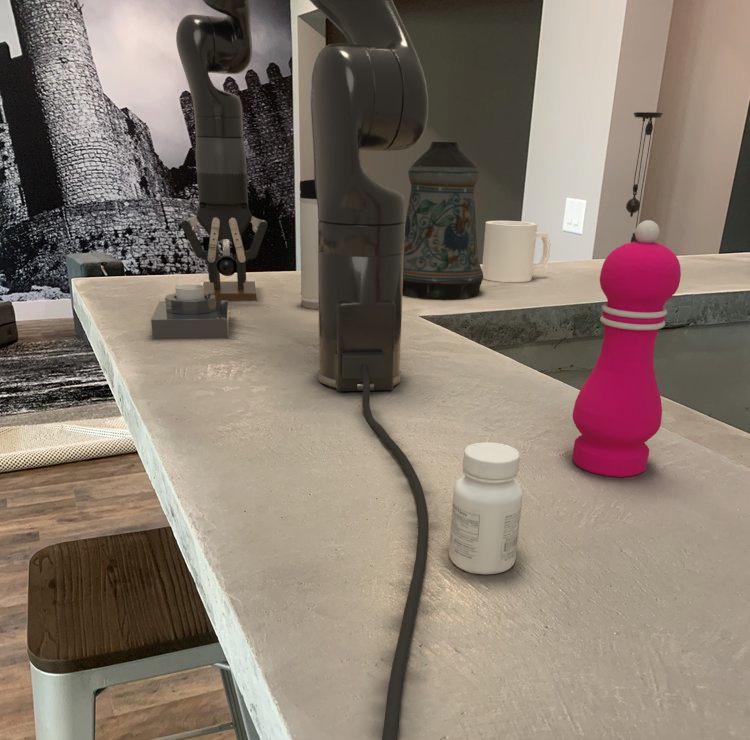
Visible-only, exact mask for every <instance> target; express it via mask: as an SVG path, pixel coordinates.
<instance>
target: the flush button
mask: <svg viewBox="0 0 750 740" xmlns="http://www.w3.org/2000/svg"><path fill="white" fill-rule="evenodd" d="M174 289H175V293H176V299H182V300H196V299H203V298H205V287H204V286H203V284H194V283H193V284H191V283H190V284H189V283H188V284H180V285H176V286H175V287H174Z"/></svg>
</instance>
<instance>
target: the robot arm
mask: <svg viewBox="0 0 750 740" xmlns="http://www.w3.org/2000/svg"><path fill="white" fill-rule="evenodd" d="M309 1H310V2H311V4H313V6H314V7H315V8H316V9H317V10H318V11H320V13H321V14H322V15H324V16H325V18H327V19H328V20H329V21H330V22H331V24H333V26H335V28H337V29H338V30H339V32H341V33H342V35H344V37H345V38H346V40H347V41H348V42H349V43H330V44H327V45H325V46H324V47H323V48H322V49H320V50H319V52H318V54H317V56H316V57H315V61H314V64H313V67H312V73H311V80H310V97H309V98H310V118H311V119H310V120H311V134H312V147H313V148H312V150H313V174H314V176H313V177H314V178H313V180H315V190H316V197H317V204H318V285H319V309H318V372H317V374H318V377H317V378H318V381H319V382H320V383H321V384H323V385H324V386H327V387H330V388H334V389H335V390H336V391H337V392H362V400H361V401H362V411H363V416H364V418H365V420H366V422H367V423H368V426H370V427H371V428H372V429H373V430H374V431H375V432H376V433H377V434H378V436H379V437H380V439H381V440H382V441H383V442H384V444H385V445H386V446H387V448H388V449H389V450H390V451H391V452H392V453H393V454H394V456H395V457H396V458H397V460H398V462H399V463H400V464H401V466H402V468H403V469H404V472H405V473H406V475H407V477H408V479H409V482H410V484H411V486H412V490H413V494H414V498H415V504H416V509H417V520H418V527H417V539H416V540H417V541H416V542H417V543H416V544H417V545H416V550H415V551H416V553H415V559H414V566H413V571H412V576H411V580H410V585H409V588H408V593H407V597H406V601H405V605H404V610H403V614H402V619H401V625H400V630H399V634H398V638H397V642H396V647H395V650H394V651H395V652H394V655H393V656H394V657H393V660H392V666H391V670H390V675H389V682H388V687H387V696H386V701H385V702H386V703H385V713H384V720H383V726H382V727H383V728H382V734H381V735H382V736H381V740H398V737H399V729H400V727H399V726H400V718H401V708H402V707H401V706H402V696H403V695H402V694H403V685H404V679H405V673H406V667H407V662H408V657H409V651H410V647H411V643H412V636H413V631H414V627H415V626H414V625H415V620H416V614H417V610H418V609H417V608H418V604H419V599H420V594H421V590H422V586H423V581H424V577H425V576H424V575H425V572H426V571H425V570H426V565H427V556H428V544H429V543H428V541H429V513H428V506H427V501H426V497H425V493H424V489H423V487H422V484H421V480H420V479H419V477H418V475H417V473H416V470H415V469H414V467H413V465H412V463H411V462H410V460H409V458H408V457H407V455H406V454H405V452H403V451H404V450H402V449H401V448H400V447H399V445H398V444H397V443H396V442H395V441H394V440H393V439H392V437H391V436H390V435H389V434H388V432H387V431H386V430H385V429H384V427H383V426H382V425H381V424H380V423H379V422H378V421H377V420H376V419H375V418H374V417H373V415H372V410H371V406H370V405H371V404H370V397H371V396H370V395H371V391H372V392H373V391H393V390H394V386H396V385H398V384H400V382H401V376H402V375H401V351H402V348H401V347H402V345H401V344H402V322H403V320H402V319H403V316H402V315H403V296H404V295H403V268H404V245H405V223H406V217H407V203H406V197H405V196H404V195H403V193H402V192H400V191H399V190H396V189H394V188H392V187H389V186H386V185H384V184H382V183H380V182H379V181H377V180H376V179H375V178H373V177H371V176H370V174H369V173H367V171H366V170H365V169H364V167H363V164H362V160H361V153H360V152H361V151H370V152H371V151H375V152H376V151H380V152H381V151H383V152H385V151H386V152H388V151H391V152H392V151H401V150H407V149H409V148H412V147H413V146H414V145H416V144H417V143H418V142H419V141H420V140H421V138H422V137H423V135H424V133H425V130H426V128H427V123H428V116H429V94H428V86H427V81H426V77H425V73H424V69H423V66H422V63H421V61H420V58H419V56H418V53H417V51H416V48H415V46H414V43H413V42H412V40H411V37H410V35H409V33H408V30H407V29H406V26H405V25H404V23H403V20H402V18H401V16H400V14H399V12H398V9H397V7H396V5H395V3H394V1H393V0H309ZM202 2H203V3H204V4H205V5H207V7H209V8H211V9H212V10H214V11H216V12H217V13H221V14H223V15H225V17H223V16H214V15H204V14H193V13H191V14H187V15H185V16H183V17H182V19H181V20H180V21H179V23H178V25H177V28H176V33H175V34H176V35H175V41H176V49H177V53H178V57H179V59H180V62H181V65H182V69H183V72H184V75H185V78H186V82H187V85H188V88H189V92H190V97H191V100H192V106H193V115H194V127H195V168H196V180H197V196H198V209H197V212H196V214H195V215H194V216H192V217H190V218H188V219H187V218H184V219H183V220H182V221H181V223H180V225H181V228H182V231H183V232H184V234H185V237H186V238H187V240H188V243H189V245H190V247H191V249H192V251H193V253H194V255H195V257H196V258H197V259H201V260H204V261H206V263H207V270H208V282H210V283H214V286H218V271H217V261H216V258H215V257H216V249H217V242H218V243H219V241H223V240H224V239H228V240H229V241H233V245H234V249H235V254H236V253H237V257H238V261H237V262H236V263H237V270H236V277H238V286H242V283H245V282H246V281H247V267H246V266H247V264H246V263H247V262H248V261H249V260H253V259H256V258H257V257H258V253H259V251H260V249H261V245H262V242H263V241H264V237H265V234H266V231H267V229H268V222H267V221H266V220H265V219H259V218H257V217H256V216H253V215H252V212H251V211H250V208H249V194H248V171H247V170H248V164H247V153H246V148H245V147H246V146H245V139H244V118H243V115H244V114H243V105H242V101H241V98H240V97H239V96H238V95H236V94H234V93H231V92H228V91H224V90H221V89H219V88H217V87H216V86H215V85H214V83H213V81H212V80H211V77H210V75H209V74H221V75H239V74H241V73H243V72H244V71H245V70H246V69H247V68H248V66H249V65H250V63H251V60H252V57H253V41H252V31H251V30H252V29H251V0H202ZM198 223H199V224H200V225H201V227H202V228H203V229H204V230H205V232H206V233H207V234H208V236H209V243H208V250H205V249H203V247H202V244H201V242H200V240H199V238H198V236H197V234H196V232H197V231H198ZM250 224H251V225H252V227H251V228H252V231H253V233H255V234H254V236H253V239H252V242H251V245H250V247H249V249H248V250H245V249H244V248H245V247H244V245H243V244H244V243H243V239H242V236H243V234H244V232H245V231H246V229H247V228H248V227H249V225H250Z"/></svg>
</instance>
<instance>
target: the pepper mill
mask: <svg viewBox="0 0 750 740" xmlns="http://www.w3.org/2000/svg"><path fill="white" fill-rule="evenodd" d="M634 233H635V237H636V240H637V242H631V241H630V242H627V243H624V244H621V245H620V246H617V247H616V248H615V249H613V250H612V251H611V252H610V253H609V254H608V255H607V257H606V258H605V259H604V261H603V264H602V267H601V270H600V274H599V284H600V289H601V291H602V292H603V294H604V296H605V298H606V301H607V302H605V303H603V304H602V305H601V310H602V311H601V312H602V313H601V316H600V317H599V321H600V323H602V324H603V325H604V329H603V340H602V345H601V348H600V353H599V356H598V358H597V361H596V363H595V366H594V367H593V369H592V371H591V373H590V374H589V375H588V377H587V379H586V380H585V382H584V383H583V385H582V387H581V388H580V390H579V392H578V394H577V395H576V396H577V397H576V399H575V401H574V405H573V409H572V421H573V424H574V425H575V428H576V430H578V431H579V433H580V435H578V437H576V438H575V439H574V444H573V450H572V455H571V457H572V461H573V463H574V464H575V465H576V466H577V467H579V468H580V469H582V470H584V471H587V472H590V473H593V474H594V475H595V474H596V475H600V476H604V477H613V478H625V477H634V476H638V475H640V474H643V472H644V471H645V470H647V467H648V461H649V455H650V448H649V446H648V445H647V444H646V443H647V442H648V440H651V438H653V437H654V436H655V435H656V434H657V432H658V431H659V430H660V428H661V425H662V416H663V406H662V405H663V404H662V397H661V394H660V391H659V390H660V389H659V385H658V383H657V379H656V373H655V363H654V362H655V361H654V355H655V345H656V340H657V336H658V333H659V330H661V329H662V328H664V327H665V326H666V321H665V320H666V317H665V316H667V314H668V310H667V308H665V307H664V306H665V304H666V303H667V302H668V300H669V299H671V298H672V297H673V296H674V295H675V294H676V292H677V291H678V289H679V286H680V283H681V278H682V277H681V276H682V273H681V272H682V271H681V264H680V263H681V262H680V261H679V258H678V256H677V255H676V254H675V253H674V252H673V251H672V249H670V248H669V247H667V246H665V245H663V244H661V243H657V242H656V241H657V239H658V238H659V235H660V227H659V225H658V224H657V222H655V221H653V220H649V219H646V220H644V221H641V222H640V223H639V224H637V228H636V227H635V231H634Z"/></svg>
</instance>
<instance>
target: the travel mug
mask: <svg viewBox="0 0 750 740" xmlns="http://www.w3.org/2000/svg"><path fill="white" fill-rule="evenodd" d="M299 192H300V193H299V235H300V236H299V238H300V240H299V241H300V244H299V245H300V247H299V248H300V294H301V298H300V299H301V301H300V303H301V307H302V308H305V309H309V310H319V285H318V204H317V197H316V190H315V180H314V179H306V180H305V179H304V180H300V181H299Z"/></svg>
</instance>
